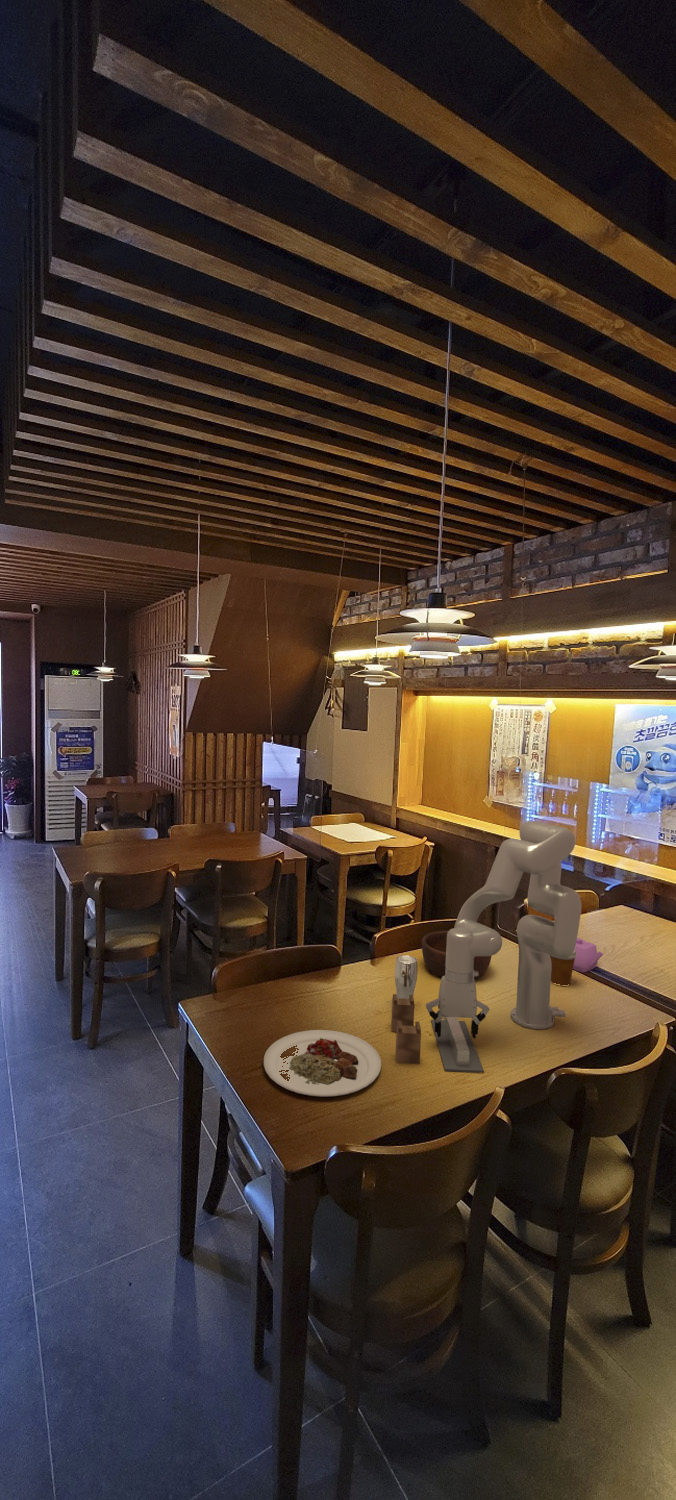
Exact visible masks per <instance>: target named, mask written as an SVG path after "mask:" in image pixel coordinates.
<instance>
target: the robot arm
mask: <svg viewBox="0 0 676 1500" xmlns="http://www.w3.org/2000/svg"><path fill="white" fill-rule="evenodd" d="M518 834H519V838H520V839H517V838H508V839H505V840H504V841H503V842H502V843H501V845H500V846H499V849H498V851H497V854H496V856H495V859H494V861H493V863H492V866H491V869H490V871H489V874H488V877H487V879H486V882H485V884H484V886H483V887H480V889H478V890H477V891H476V892H474V893H473V894H471V896H470V897H469V898H467V900H466V901H465V902H464V903H463V905H462V906H461V908H460V910H459V913H458V916H457V918H456V920H455V923H454V928H450V929H449V930H447V931H448V933H447V946H446V967H445V976H443V977H442V978H440V985H439V991H438V998H435V999H433V1000H431V1001H429V1002H427V1003H426V1004H425V1008H426V1010H427V1012H428V1014H429V1016H430V1018H432V1020H435V1032H437V1036H438V1037H441V1020H443V1019H444V1016H445V1017H457V1018H463V1019H465V1018H466V1019H470V1018H471V1019H472V1020H471V1027H470V1030H471V1031H470V1035H471V1038H472V1039H475V1040H476V1039H477V1035H479V1025H480V1024H481V1022H482V1021H483V1020H485V1018H486V1016H487V1015H488V1013H489V1011H490V1007H489V1005H487V1004H485V1003H483V1002H482V1001H480V1000H478V998H477V985H476V980H475V979H474V977H476V976H478V971H474V969H473V966H474V957H475V956H494V955H497V954H498V953H499V952H500V951H501V950H502V947H503V939H502V936H501V934H500V933H499V932H498V931H496V930H495V929H494V928H491V927H488V926H486V925H484V924H482V923H479V922H477V921H478V919H479V917H480V915H481V914H482V912H483V911H484V910H485V909H486V908H487V907H488V906H490V905H493V904H496V903H499V902H506V901H510V900H512V899H513V898H514V897H515V896H516V895H515V894H516V893H517V890H518V887H519V884H520V882H521V879H522V877H523V874H524V872H525V873H528V874H530V876H529V884H528V890H527V900H526V901H527V905H528V906H529V908H531V909H532V910H534V911H536V912H538V913H540V914H544V915H546V916H549V917H552V918H553V919H554V920H552V919H549V918H546V917H544V916H541V915H537V914H526V915H524V916H522V917H521V918H520V919H519V920H518V922H517V925H516V936H517V937H516V938H517V944H518V945H517V946H518V966H517V967H518V968H517V969H518V970H517V984H516V985H517V988H516V1005H515V1007H514V1008H512V1009H511V1011H510V1014H509V1015H510V1016H509V1017H510V1019H511V1020H512V1021H513V1022H514V1023H516V1024H517V1025H519V1026H522V1027H525V1028H528V1029H534V1030H547V1029H549V1028H552V1027H553V1026H554V1024H555V1017H559V1018H566V1016H567V1014H566V1010H564V1009H559V1007H558V1006H551V1005H550V999H551V986H552V985H551V984H552V982H551V971H552V963H551V958H550V955H551V956H553V957H556V958H559V959H566V958H568V957H569V956H571V954H572V953H573V951H574V949H575V946H576V941H577V938H578V936H579V935H578V934H579V927H580V923H581V922H580V921H581V916H582V915H581V914H582V900H581V897H580V895H579V893H578V892H577V891H576V890H574V889H573V888H571V887H569V886H565V885H561V878H562V877H561V876H562V867H563V866H562V861H563V860H565V859H566V858H567V857H568V856H570V855H571V853H573V850H574V849H575V846H576V836H575V834H574V833H573V832H572V831H571V830H570V829H569V828H567V827H564V826H561V825H560V826H558V825H554V824H550V823H545V822H539V821H534V820H533V821H531V820H529V821H525V822H523V823H522V824H520V828H519V833H518ZM435 1007H437V1008H438V1010H437V1011H436V1012H435V1011H434V1010H433V1008H435ZM478 1008H479V1009H480V1010H481V1011H480V1012H479V1013H478V1012H477V1011H478V1010H477V1009H478ZM477 1013H478V1014H477ZM552 1025H553V1026H552ZM551 1026H552V1027H551ZM546 1028H547V1029H546Z"/></svg>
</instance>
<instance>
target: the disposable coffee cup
mask: <svg viewBox="0 0 676 1500" xmlns="http://www.w3.org/2000/svg"><path fill="white" fill-rule="evenodd" d="M576 956H577V954H576V951H575V949H574V951H573V953H572V954H571V956H569V957H568V958H566V959H559V958H556V957H553V956H551V955H550V958H551V963H552V971H551V981H552V982H553V983H556V984H560V985H568V984H570V985H571V979H572V976H573V975H572V974H573V966H574V960H575V958H576ZM552 982H551V983H552ZM553 983H552V984H553Z"/></svg>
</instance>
